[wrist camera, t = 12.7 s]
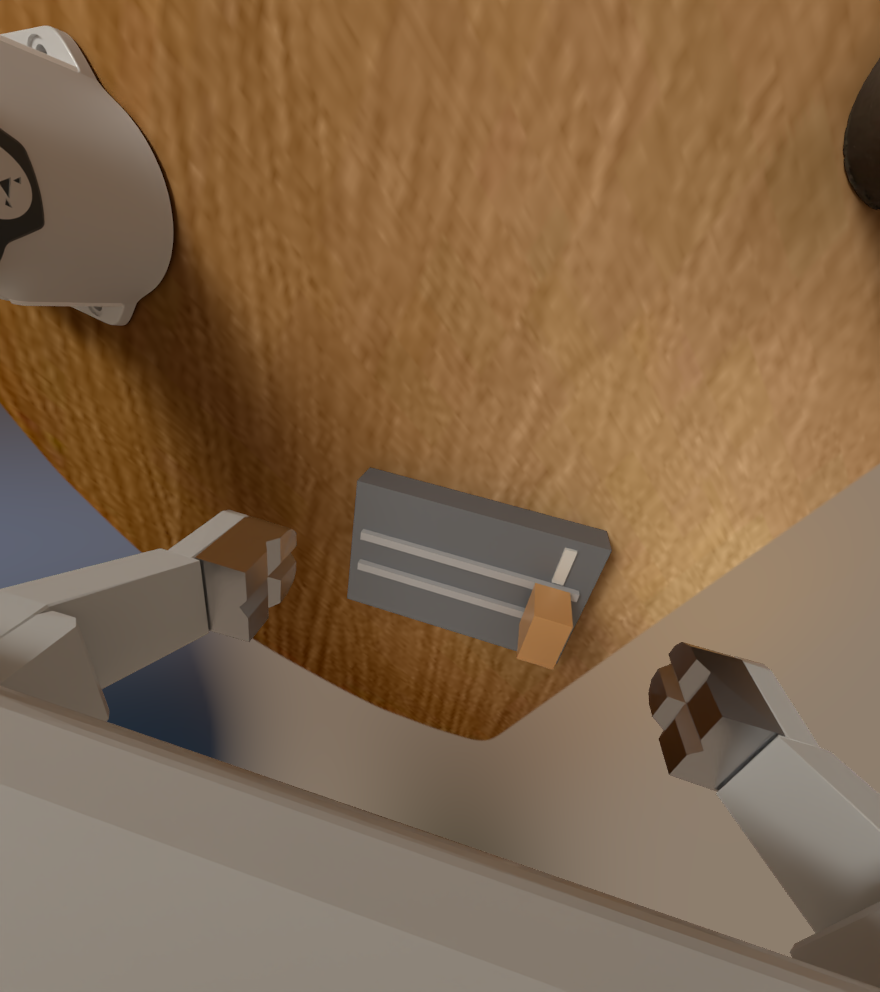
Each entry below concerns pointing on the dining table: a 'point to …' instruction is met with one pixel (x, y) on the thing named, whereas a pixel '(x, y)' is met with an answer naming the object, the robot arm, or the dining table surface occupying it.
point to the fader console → (464, 557)
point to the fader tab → (544, 626)
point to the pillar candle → (865, 141)
